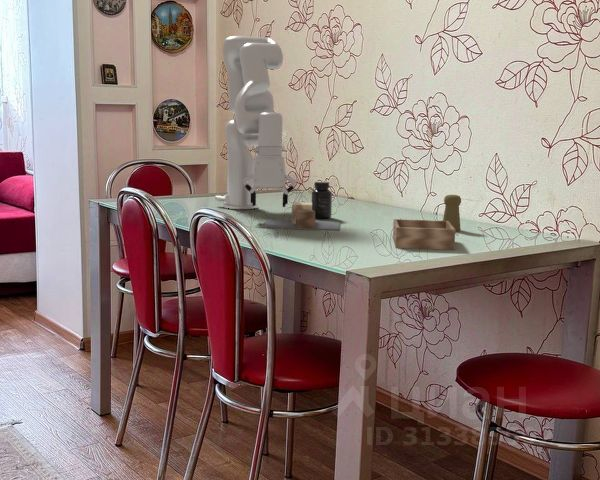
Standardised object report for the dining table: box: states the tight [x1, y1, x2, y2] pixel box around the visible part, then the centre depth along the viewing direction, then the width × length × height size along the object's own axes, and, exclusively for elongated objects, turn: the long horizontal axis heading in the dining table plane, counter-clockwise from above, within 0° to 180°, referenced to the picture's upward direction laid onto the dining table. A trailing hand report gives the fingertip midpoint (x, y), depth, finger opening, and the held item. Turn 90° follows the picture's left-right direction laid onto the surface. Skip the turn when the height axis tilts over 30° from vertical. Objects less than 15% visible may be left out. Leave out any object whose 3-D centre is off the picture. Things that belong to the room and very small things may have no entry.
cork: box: [442, 194, 462, 233], centre depth 240 cm, size 6×6×11 cm
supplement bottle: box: [310, 181, 333, 220], centre depth 259 cm, size 7×7×12 cm
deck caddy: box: [392, 218, 456, 251], centre depth 216 cm, size 16×16×6 cm
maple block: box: [291, 201, 312, 224], centre depth 247 cm, size 6×6×6 cm
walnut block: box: [296, 210, 316, 228], centre depth 238 cm, size 5×5×5 cm
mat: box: [259, 218, 341, 231], centre depth 244 cm, size 24×16×1 cm, turn 86°
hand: (269, 205), depth 248 cm, fingers open, 9 cm apart
